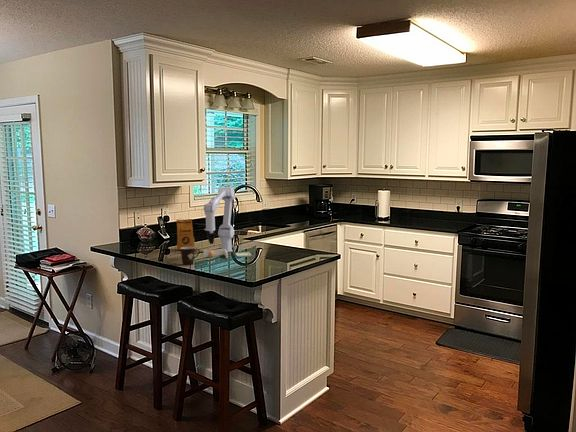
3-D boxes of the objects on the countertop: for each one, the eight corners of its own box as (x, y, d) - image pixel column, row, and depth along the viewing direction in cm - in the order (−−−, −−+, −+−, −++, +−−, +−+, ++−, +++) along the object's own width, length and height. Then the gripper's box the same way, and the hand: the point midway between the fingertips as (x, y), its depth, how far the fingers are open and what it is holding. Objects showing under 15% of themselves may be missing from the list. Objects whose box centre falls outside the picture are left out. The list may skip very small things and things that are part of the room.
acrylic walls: (203, 255, 310) (203, 250, 309) (225, 254, 313) (225, 249, 313) (205, 259, 297) (204, 254, 297) (227, 258, 301) (227, 252, 300)
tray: (235, 254, 313) (235, 253, 313) (249, 253, 316) (249, 252, 315) (237, 256, 304) (237, 255, 304) (251, 256, 307) (251, 254, 307)
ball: (207, 256, 306) (207, 250, 306) (214, 256, 307) (213, 250, 307) (208, 257, 302) (208, 251, 302) (214, 257, 303) (214, 251, 303)
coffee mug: (180, 266, 279) (180, 249, 278) (180, 263, 287) (180, 247, 286) (200, 264, 281) (200, 248, 280) (200, 262, 290) (199, 246, 289)
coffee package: (194, 250, 328) (193, 219, 326) (176, 251, 326) (175, 220, 324) (195, 248, 338) (194, 217, 336) (177, 249, 336) (176, 218, 333)
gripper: (203, 220, 308) (203, 241, 310) (204, 223, 294) (205, 244, 296) (214, 220, 310) (214, 240, 312) (216, 223, 296) (216, 244, 298)
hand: (210, 242), depth 304 cm, fingers open, 7 cm apart
